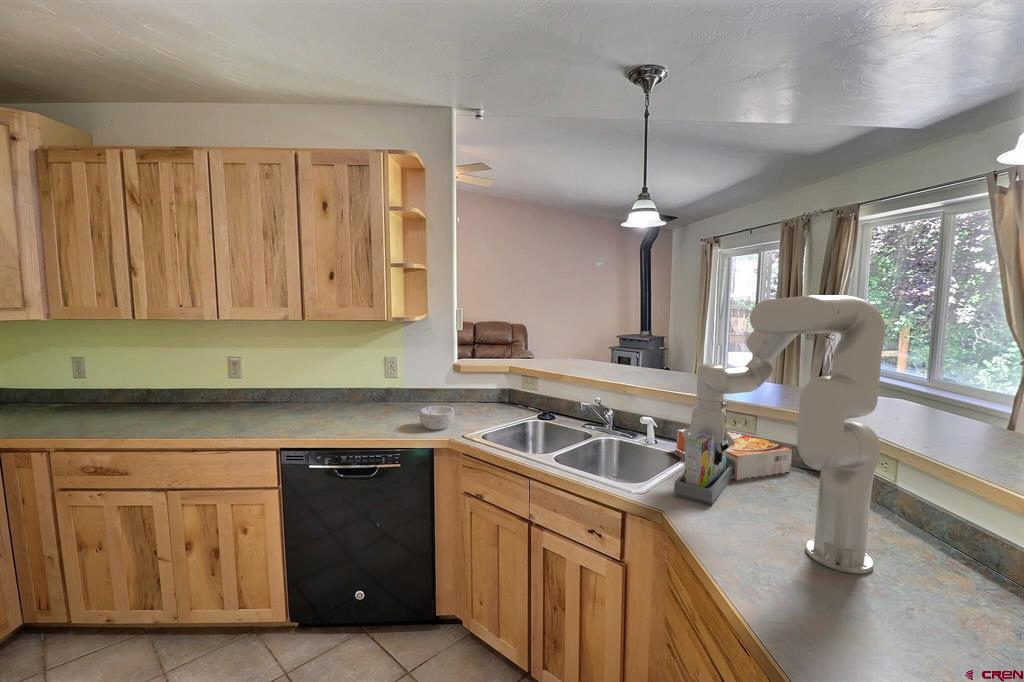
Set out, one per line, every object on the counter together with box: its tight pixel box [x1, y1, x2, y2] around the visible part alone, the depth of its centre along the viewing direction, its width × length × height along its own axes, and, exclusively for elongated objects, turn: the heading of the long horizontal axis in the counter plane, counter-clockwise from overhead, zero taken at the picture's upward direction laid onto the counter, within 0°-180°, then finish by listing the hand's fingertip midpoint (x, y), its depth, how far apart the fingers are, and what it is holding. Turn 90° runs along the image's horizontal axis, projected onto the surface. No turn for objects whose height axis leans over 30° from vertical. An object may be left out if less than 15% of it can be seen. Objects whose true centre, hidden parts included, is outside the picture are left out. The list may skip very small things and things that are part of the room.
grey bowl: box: [419, 405, 455, 431], centre depth 204 cm, size 15×15×8 cm
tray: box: [673, 463, 733, 507], centre depth 144 cm, size 26×11×4 cm, turn 143°
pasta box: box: [676, 428, 793, 481], centre depth 167 cm, size 23×8×30 cm
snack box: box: [684, 425, 729, 488], centre depth 143 cm, size 21×6×15 cm, turn 137°
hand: (706, 460), depth 143 cm, fingers closed on snack box, 5 cm apart
